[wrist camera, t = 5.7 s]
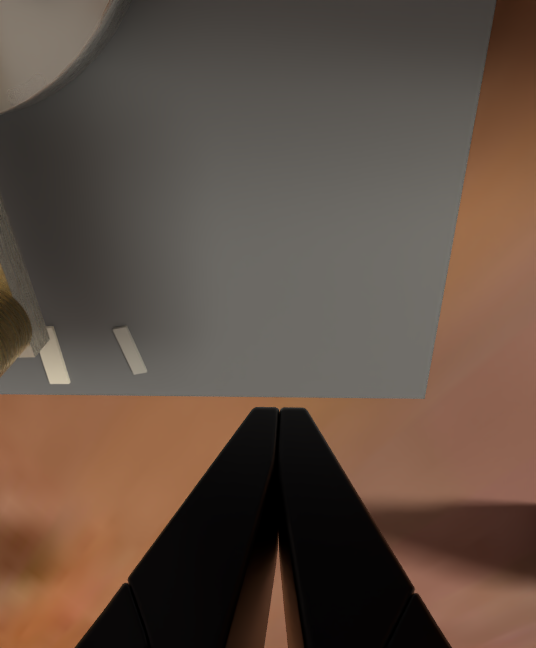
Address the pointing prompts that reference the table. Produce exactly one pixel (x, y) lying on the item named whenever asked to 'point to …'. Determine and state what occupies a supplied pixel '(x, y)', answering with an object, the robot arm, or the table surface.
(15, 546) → the table surface
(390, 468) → the table surface
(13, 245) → the disc crank with handle
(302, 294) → the stand base
